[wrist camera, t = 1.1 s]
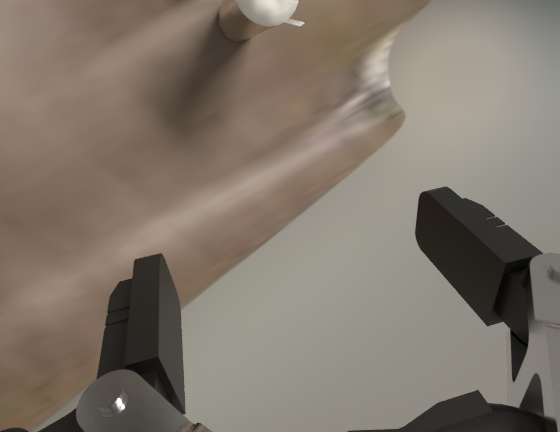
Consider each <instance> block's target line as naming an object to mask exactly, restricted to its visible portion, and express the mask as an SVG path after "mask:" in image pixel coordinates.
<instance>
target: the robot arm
mask: <svg viewBox="0 0 560 432" xmlns="http://www.w3.org/2000/svg"><path fill="white" fill-rule="evenodd" d="M415 235H416V240H417V243H418V245H419V247H420V249H421V250H422V251H423V253H424V254H425V255H426V256H427V257H428V258H429V259H430V261H431V262H432V263H433V264H434V265H435V266H436V268H437V269H438V270H439V271H440V272H441V273H442V275H443V276H444V277H445V278H446V279H447V280H448V281H449V283H451V285H452V286H453V287H454V288H455V289H456V291H457V292H458V293H459V294H460V295H461V296H462V298H463V299H464V300H465V301H466V302H467V303H468V304H469V306H470V307H471V308H472V309H473V310H474V311H475V313H476V314H477V315H478V316H479V317H480V318H481V319H482V321H483V322H484V323H485V324H486V325H487V326H490V325H493V324H497V323H500V322H504V323H505V324H506V325H507V326H508V329H507V333H506V355H507V399H506V405H503V404H492V403H487V402H486V400H485V399H484V397H483V396H482V395H481V393H480V392H479V391H478V390H477V391H474V392H471V393H467V394H464V395H461V396H458V397H455V398H452V399H448V400H446V401H442V402H439V403H437V404H435V405H434V406H433V407H432V408H430V409H428V410H427V411H426V412H424V413H423V414H421V415H420V416H418V417H417V418H416V419H414V420H413V421H412V422H410V423H408V424H407V425H406V426H404V427H402V428H400V429H386V430H360V431H359V430H358V431H348V432H560V254H554V253H547V254H543V253H542V252H541V251H540V250H538V249H537V248H536V247H535V246H533V245H532V244H531V243H529V242H528V241H527V240H526V239H524V238H523V237H522V236H521V235H519V234H518V233H517V232H515V231H514V230H513V229H511V228H510V227H509V226H508V225H505V223H504V222H503V221H502V220H500V219H499V218H498V217H495V215H494V214H493V213H492V212H490V211H489V210H488V209H486V208H485V207H484V206H483V205H481V204H478V203H476V202H473V201H471V200H468V199H466V198H464V199H462V198H461V197H460V196H458V195H457V194H456V193H455V192H454V191H452V190H451V189H450V188H448V187H441V188H437V189H433V190H429V191H425V192H422V193H421V194H420V196H419V202H418V212H417V220H416V231H415ZM107 312H108V315H107V317H106V324H105V325H106V328H105V330H104V336H103V343H102V349H101V355H100V362H99V368H98V375H97V379H96V380H95V381H94V382H93V383H92V384H91V385H90V386H89V387H88V388H87V389H86V390H85V392H84V393H83V394H82V396H81V398H80V400H79V402H78V405H77V408H76V409H74V410H73V411H72V412H71V413H69V414H67V415H66V416H65V417H63V418H61V419H59V420H57V421H56V422H54V423H52V424H51V425H49V426H47V427H46V428H44V429H42V430H40V431H38V432H212V431H211V430H209V429H208V428H207V427H206V426H204V425H202V424H201V423H197V424H196V425H195V424H193V423H192V422H190V421H189V420H188V419H187V418H186V417H185V416H184V415H183V414H185V393H184V371H183V351H182V329H181V310H180V303H179V298H178V294H177V291H176V288H175V285H174V283H173V280H172V277H171V275H170V272H169V269H168V267H167V264H166V261H165V259H164V256H163V255H162V254H161V253H160V254H156V255H152V256H148V257H143V258H139V259H135V261H134V268H133V278H132V279H128V280H124V281H120V282H119V283H118V285H117V286H116V288H115V289H114V291H113V292H112V294H111V296H110V298H109V305H108V311H107ZM0 432H28V431H27V430H25V429H22V428H10V429H6V430H3V431H0Z"/></svg>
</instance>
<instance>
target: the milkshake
mask: <svg viewBox="0 0 560 432" xmlns="http://www.w3.org/2000/svg"><path fill="white" fill-rule="evenodd" d="M297 5H298V0H223V2H222V4H221V7H220V9H219V27H220V28H221V30H222V32H223V33H224V35H225V37H227V38H229V39H231V40H234V41H236V42H239V41H243V40H248V39H250V38H252V37H254V36H256V35H258V34H260V33H262V32H263V31H265V30H267V29H270V28H272V27H275V26H277V25H279V24H282V23H287V24H291V25H295V26H299V27H301V26H302V25H304V24H305V22H301V21H297V20H292V19H289V18H290V17H291V15H292V14H293V13H294V11H295V9H296V7H297Z"/></svg>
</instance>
